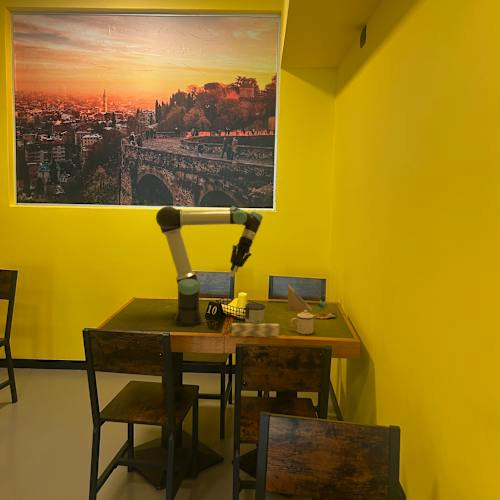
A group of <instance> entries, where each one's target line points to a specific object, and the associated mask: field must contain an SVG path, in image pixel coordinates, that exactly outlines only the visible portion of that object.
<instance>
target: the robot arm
mask: <svg viewBox="0 0 500 500" xmlns="http://www.w3.org/2000/svg"><path fill="white" fill-rule="evenodd" d="M263 217H264V216H263V215H262V214H261V213H259V212H256V211H251V212H250V213H249V212H247V211H244V210H242V209H240V208H238V207H235V206H234V205H232V206H231V207H229V210H228V209H227V210H190V211H189V210H184V211H183V209H177V208H175V207H173V206H170V205H168V206H163V207H161V208H160V209H159V210H158V211H157V213H156V215H155V220H156V223H157V225H158V226H159V228H160V230H161V233H162V235H165V237H166V240H167V244H168V248H169V251H170V254H171V257H172V261H173V264H174V267H175V271H176V274H177V275H176V277H175V281H176V283H177V311H176V314H175V316H174V324H175V325H176V326H179V327H189V328H190V327H197V325H198V326H200V325H202V324H203V316H202V314H201V310H200V290H201V284H200V281H199V279H198V277H197V274H196V272H195V271H193V269H192V266H191V265H192V264H191V263H190V259H189V256H188V252H187V249H186V246H185V242H184V238H183V236H182V232H181V230H182V228H183V227H184V226H208V225H209V226H210V225H211V226H212V225H239V226H240V225H241V226H244V228H243V231H242V233H241V236H240V238H239V240H238V243H237V244H234V245H232V251H231V257H230V261H229V262H230V263H231V267H230V271H229V275H228V276H229V277H230V278H234V277H235V274H236V273H237V272H238V270H239V268H242V267H244V265H245V263H246V262H247V261H248V259H249V258H250V257H251V256H252V253H251V251H250V248H251V247H252V245H253V243H254V241H255V240H254V239H256V235H257V232H258V230H259V228H260V226H261V225H262V224H261V223H262V221H263Z"/></svg>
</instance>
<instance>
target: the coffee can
mask: <svg viewBox="0 0 500 500" xmlns="http://www.w3.org/2000/svg"><path fill="white" fill-rule="evenodd" d="M265 308H266V305H265V304H263V303H257V302H255V303H254V302H253V303H252V302H251V303H250V302H249V303H247V304H245V311H244V312H245V315H244V316H245V317H244V318H245V320H244V323H256V324H265V312H266V309H265Z"/></svg>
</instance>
